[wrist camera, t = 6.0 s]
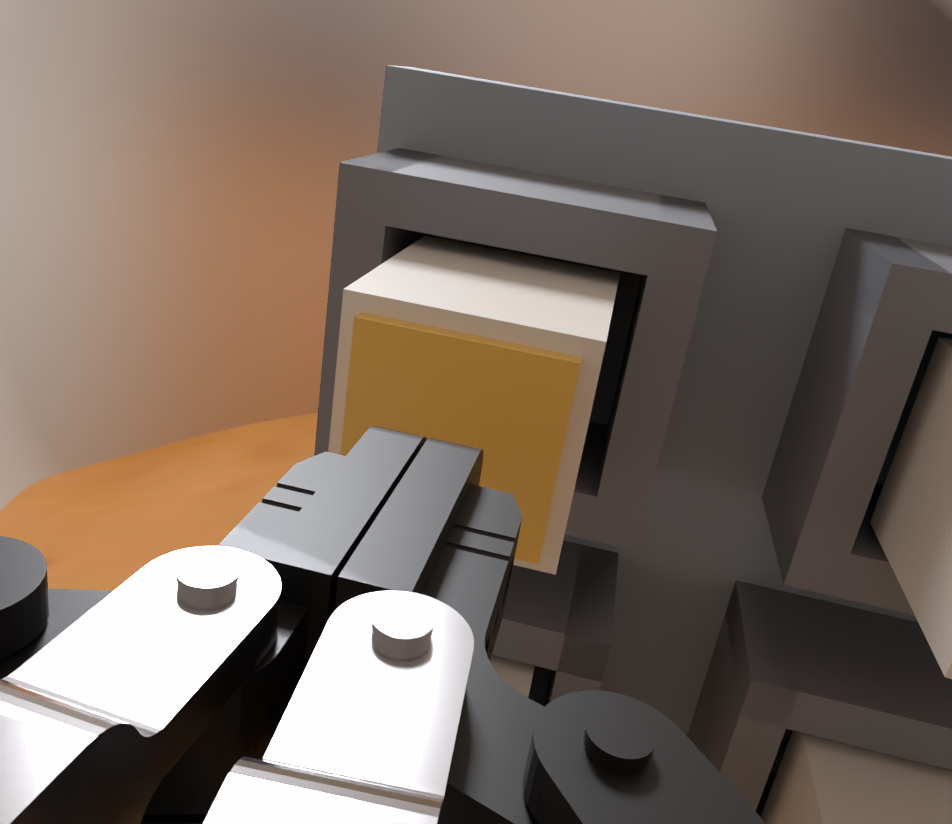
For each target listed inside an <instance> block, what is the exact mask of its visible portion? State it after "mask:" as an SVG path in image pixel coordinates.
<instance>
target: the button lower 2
mask: <svg viewBox="0 0 952 824" xmlns="http://www.w3.org/2000/svg"><path fill="white" fill-rule="evenodd" d="M761 818H762V820H763V821H764V822H765V823H766V824H952V770H949V769H945V768H941V767H937V766H933V765H929V764H925V763H921V762H917V761H913V760H909V759H905V758H901V757H897V756H893V755H889V754H885V753H881V752H877V751H873V750H869V749H865V748H861V747H857V746H853V745H849V744H845V743H841V742H837V741H833V740H829V739H825V738H822V737H818V736H814V735H810V734H806V733H802V732H798V731H794V730H793V731H792V734H791V736H790V739H789V742H788V744H787V747H786V750H785V752H784V755H783V758H782V760H781V763H780V766H779V769H778V771H777V774H776V777H775V779H774V782H773V785H772V787H771V790H770V793H769V796H768V798H767V801H766V804H765V806H764V809H763V812H762V814H761Z"/></svg>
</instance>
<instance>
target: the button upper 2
mask: <svg viewBox="0 0 952 824" xmlns="http://www.w3.org/2000/svg"><path fill="white" fill-rule="evenodd" d="M870 524H871V526H872V528H873V530H874V532H875V534H876V536H877V538H878V540H879V542H880V544H881V546H882V548H883V551H884V553H885V555H886V557H887V559H888V561H889V563H890V565H891V567H892V569H893V571H894V573H895V575H896V577H897V579H898V582H899V584H900V586H901V588H902V590H903V592H904V594H905V596H906V598H907V600H908V602H909V604H910V606H911V608H912V610H913V613H914V615H915V617H916V619H917V621H918V623H919V625H920V627H921V629H922V631H923V633H924V635H925V637H926V639H927V641H928V643H929V646H930V648H931V650H932V652H933V654H934V656H935V658H936V660H937V662H938V664H939V666H940V668H941V670H942V672H943V674H944V677H946V678H950V679H952V339H949V338H944V337H939V338H938V340H937V343H936V346H935V348H934V351H933V354H932V356H931V359H930V362H929V365H928V367H927V370H926V373H925V375H924V378H923V381H922V383H921V386H920V389H919V391H918V394H917V397H916V400H915V402H914V405H913V408H912V410H911V413H910V416H909V418H908V421H907V424H906V427H905V429H904V432H903V435H902V437H901V440H900V443H899V445H898V448H897V451H896V453H895V456H894V459H893V462H892V464H891V467H890V470H889V472H888V475H887V478H886V480H885V483H884V486H883V488H882V491H881V494H880V497H879V499H878V502H877V505H876V507H875V510H874V513H873V515H872V518H871V521H870Z"/></svg>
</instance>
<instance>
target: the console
mask: <svg viewBox="0 0 952 824" xmlns="http://www.w3.org/2000/svg"><path fill="white" fill-rule="evenodd" d="M335 212H336V213H335V223H334V235H333V247H332V258H331V269H330V281H329V293H328V304H327V315H326V316H327V317H326V328H325V340H324V350H323V361H322V373H321V384H320V396H319V408H318V419H317V431H316V442H315V454H314V456H316V455H318V454H321V453H323V452H325V451H326V452H328V449H329V438H330V428H331V417H332V406H333V396H334V385H335V374H336V363H337V353H338V342H339V331H340V320H341V310H342V299H343V289H344V288H346V287H347V286H349V285H350V284H352V283H353V282H355V281H356V280H358V279H359V278H361V277H363V276H364V275H366V274H367V273H369V272H370V271H372V270H373V269H375V268H376V267H378V266H379V265H381V264H382V263H384V262H385V261H387V260H388V259H390V258H392V257H393V256H395V255H396V254H398V253H399V252H401V251H402V250H404V249H405V248H407V247H408V246H410V245H411V244H413V243H414V242H416V241H418V240H419V239H421V238H422V237H424V236H425V235H426V236H431V237H437V238H442V239H447V240H452V241H458V242H463V243H468V244H473V245H479V246H484V247H489V248H494V249H499V250H505V251H510V252H515V253H520V254H526V255H531V256H536V257H541V258H547V259H552V260H557V261H562V262H568V263H573V264H578V265H583V266H589V267H594V268H599V269H604V270H610V271H615V272H620V276H619V281H618V286H617V291H616V296H615V301H614V306H613V311H612V316H611V321H610V326H609V331H608V336H607V342H606V346H605V351H604V355H603V360H602V365H601V369H600V374H599V378H598V383H597V388H596V392H595V397H594V401H593V406H592V410H591V415H590V420H589V424H588V429H587V433H586V438H585V443H584V447H583V452H582V456H581V461H580V466H579V470H578V475H577V479H576V484H575V489H574V493H573V498H572V502H571V507H570V511H569V516H568V521H567V525H566V530H565V534H564V539H563V544H562V548H561V553H560V557H559V562H558V567H557V571H556V575H554V574H550V573H546V572H542V571H538V570H533V569H529V568H525V567H521V566H516V565H513V568H512V573H511V579H510V584H509V589H508V594H507V599H506V604H505V610H504V615H503V618H502V621H501V625H500V628H499V632H498V635H497V638H496V641H495V645H494V649H493V652H492V655H495V656H499V657H503V658H507V659H511V660H515V661H519V662H523V663H527V664H531V665H535V668H534V672H533V677H532V682H531V687H530V691H529V696H528V698H529V699H531V700H533V701H535V702H537V703H539V704H540V705H542V706H544V707H545V706H546V705H548V704H549V703H550V702H551V701H553V700H554V699H556V698H558V697H560V696H562V695H565V694H568V693H571V692H577V691H584V690H599V691H609V692H614V693H618V694H623V695H626V696H629V697H632V698H635V699H637V700H639V701H641V702H644V703H646V704H648V705H650V706H651V707H653V708H655V709H656V710H658V711H660V712H661V713H663V714H664V715H665V716H666V717H668V718H669V719H670V720H672V721H673V722H674V723H675V724H676V725H677V726H678V727H679V728H680V729H681V730H682V731H683V732H684V733H685V735H686V736H687V737H688V738H689V739H690V740H691V741H692V742H693V743H694V744H695V746H696V747H697V748H698V749H699V750H700V751H701V752H702V753H703V754H704V755H705V757H706V758H707V759H708V760H709V761H710V762H711V763H712V764H713V765H714V767H715V768H716V769H717V770H718V771H719V772H720V773H721V774H722V775H723V776H724V778H725V779H726V780H727V781H728V782H729V783H730V784H731V785H732V786H733V788H734V789H735V790H736V791H737V792H738V793H739V794H740V795H741V796H742V797H743V799H744V800H745V801H746V802H747V803H748V804H749V805H750V806H751V807H752V809H753V810H754V811H755V812H756V813H757V814H758V815H759V816H760V817H761V814H762V812H763V809H764V806H765V804H766V801H767V798H768V796H769V793H770V790H771V787H772V785H773V782H774V779H775V777H776V774H777V771H778V769H779V766H780V763H781V760H782V758H783V755H784V752H785V750H786V747H787V744H788V742H789V739H790V736H791V734H792V731H793V730H794V731H798V732H802V733H806V734H810V735H814V736H818V737H822V738H825V739H829V740H833V741H837V742H841V743H845V744H849V745H853V746H857V747H861V748H865V749H869V750H873V751H877V752H881V753H885V754H889V755H893V756H897V757H901V758H905V759H909V760H913V761H917V762H921V763H925V764H929V765H933V766H937V767H941V768H945V769H949V770H952V679H950V678H946V677H944V674H943V672H942V670H941V668H940V666H939V664H938V662H937V660H936V658H935V656H934V654H933V652H932V650H931V648H930V646H929V643H928V641H927V639H926V637H925V635H924V633H923V631H922V629H921V627H920V625H919V623H918V621H917V619H916V617H915V615H914V613H913V610H912V608H911V606H910V604H909V602H908V600H907V598H906V596H905V594H904V592H903V590H902V588H901V586H900V584H899V582H898V579H897V577H896V575H895V573H894V571H893V569H892V567H891V565H890V563H889V561H888V559H887V557H886V555H885V553H884V551H883V548H882V546H881V544H880V542H879V540H878V538H877V536H876V534H875V532H874V530H873V528H872V526H871V524H870V521H871V518H872V515H873V513H874V510H875V507H876V505H877V502H878V499H879V497H880V494H881V491H882V488H883V486H884V483H885V480H886V478H887V475H888V472H889V470H890V467H891V464H892V462H893V459H894V456H895V453H896V451H897V448H898V445H899V443H900V440H901V437H902V435H903V432H904V429H905V427H906V424H907V421H908V418H909V416H910V413H911V410H912V408H913V405H914V402H915V400H916V397H917V394H918V391H919V389H920V386H921V383H922V381H923V378H924V375H925V373H926V370H927V367H928V365H929V362H930V359H931V356H932V354H933V351H934V348H935V346H936V343H937V340H938V338H939V337H944V338H949V339H952V157H950V156H944V155H938V154H932V153H925V152H920V151H914V150H908V149H902V148H896V147H889V146H883V145H877V144H871V143H866V142H859V141H853V140H847V139H841V138H835V137H829V136H823V135H817V134H811V133H805V132H799V131H793V130H787V129H780V128H775V127H769V126H763V125H757V124H751V123H745V122H739V121H733V120H726V119H721V118H715V117H709V116H703V115H696V114H691V113H685V112H679V111H672V110H667V109H661V108H655V107H649V106H642V105H637V104H631V103H625V102H619V101H612V100H606V99H600V98H594V97H588V96H582V95H576V94H570V93H564V92H558V91H552V90H546V89H540V88H534V87H528V86H522V85H516V84H510V83H504V82H498V81H492V80H486V79H480V78H474V77H468V76H462V75H456V74H450V73H444V72H438V71H432V70H426V69H419V68H413V67H405V66H390V65H389V66H388V65H386V70H385V80H384V89H383V99H382V108H381V118H380V128H379V138H378V148H377V153H376V154H372V155H368V156H364V157H360V158H356V159H352V160H348V161H344V162H340V165H339V177H338V188H337V200H336V211H335Z"/></svg>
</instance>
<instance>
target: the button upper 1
mask: <svg viewBox="0 0 952 824" xmlns="http://www.w3.org/2000/svg"><path fill="white" fill-rule="evenodd" d="M619 276H620V272H615V271H610V270H604V269H599V268H594V267H589V266H583V265H578V264H573V263H568V262H562V261H557V260H552V259H547V258H541V257H536V256H531V255H526V254H520V253H515V252H510V251H505V250H499V249H494V248H489V247H484V246H479V245H473V244H468V243H463V242H458V241H452V240H447V239H442V238H437V237H431V236H426V235H425V236H424V237H422V238H421V239H419V240H418V241H416V242H414V243H413V244H411V245H410V246H408V247H407V248H405V249H404V250H402V251H401V252H399V253H398V254H396V255H395V256H393V257H392V258H390V259H388V260H387V261H385V262H384V263H382V264H381V265H379V266H378V267H376V268H375V269H373V270H372V271H370V272H369V273H367V274H366V275H364V276H363V277H361V278H359V279H358V280H356V281H355V282H353V283H352V284H350V285H349V286H347V287H346V288H344V289H343V299H342V310H341V320H340V331H339V342H338V353H337V363H336V374H335V385H334V396H333V406H332V417H331V428H330V438H329V449H328V452H331V453H335V454H339V455H344V456H346V455H347V454H348V453H349V451H350V450H351V449H352V448H353V447H354V446H355V444H356V443H357V442H358V441H359V440H360V438H361V437H362V436H363V435H364V434H365V432H366V431H367V430H368V429H369V428H370V427H371V426H373V425H374V426H378V427H383V428H387V429H392V430H396V431H401V432H405V433H410V434H414V435H419V436H423V437H426V438H427V439H428V438H433V439H437V440H442V441H447V442H451V443H456V444H460V445H465V446H469V447H474V448H478V449H483V463H482V470H481V476H480V482H479V486H481V487H486V488H490V489H494V490H499V491H503V492H508V493H512V494H513V496H514V498H515V500H516V502H517V505H518V507H519V509H520V511H521V514H522V516H523V517H522V522H521V527H520V532H519V537H518V542H517V548H516V553H515V558H514V563H513V565H516V566H521V567H525V568H529V569H533V570H538V571H542V572H546V573H550V574H554V575H556V571H557V567H558V562H559V557H560V553H561V548H562V544H563V539H564V534H565V530H566V525H567V521H568V516H569V511H570V507H571V502H572V498H573V493H574V489H575V484H576V479H577V475H578V470H579V466H580V461H581V456H582V452H583V447H584V443H585V438H586V433H587V429H588V424H589V420H590V415H591V410H592V406H593V401H594V397H595V392H596V388H597V383H598V378H599V374H600V369H601V365H602V360H603V355H604V351H605V346H606V342H607V336H608V331H609V326H610V321H611V316H612V311H613V306H614V301H615V296H616V291H617V286H618V281H619Z"/></svg>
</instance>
